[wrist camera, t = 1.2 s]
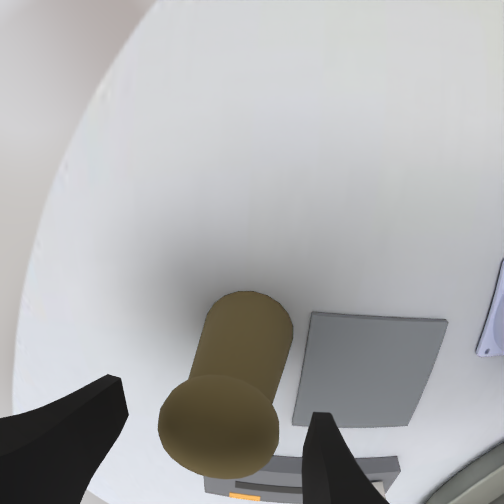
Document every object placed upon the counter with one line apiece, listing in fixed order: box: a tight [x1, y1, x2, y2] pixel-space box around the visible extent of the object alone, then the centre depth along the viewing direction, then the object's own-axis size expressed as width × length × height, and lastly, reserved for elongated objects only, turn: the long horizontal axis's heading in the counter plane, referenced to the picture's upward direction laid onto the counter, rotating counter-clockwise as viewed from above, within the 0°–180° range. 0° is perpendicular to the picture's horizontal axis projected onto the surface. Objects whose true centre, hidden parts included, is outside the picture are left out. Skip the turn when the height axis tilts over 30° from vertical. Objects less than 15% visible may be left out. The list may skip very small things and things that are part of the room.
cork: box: [158, 291, 293, 479], centre depth 15 cm, size 6×6×11 cm
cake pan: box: [426, 443, 504, 504], centre depth 21 cm, size 25×25×4 cm
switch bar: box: [204, 456, 401, 504], centre depth 23 cm, size 18×6×2 cm, turn 86°
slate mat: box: [292, 312, 448, 428], centre depth 20 cm, size 10×10×1 cm
